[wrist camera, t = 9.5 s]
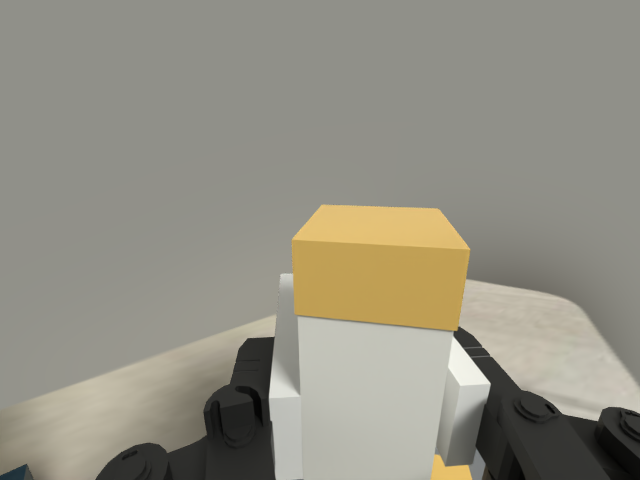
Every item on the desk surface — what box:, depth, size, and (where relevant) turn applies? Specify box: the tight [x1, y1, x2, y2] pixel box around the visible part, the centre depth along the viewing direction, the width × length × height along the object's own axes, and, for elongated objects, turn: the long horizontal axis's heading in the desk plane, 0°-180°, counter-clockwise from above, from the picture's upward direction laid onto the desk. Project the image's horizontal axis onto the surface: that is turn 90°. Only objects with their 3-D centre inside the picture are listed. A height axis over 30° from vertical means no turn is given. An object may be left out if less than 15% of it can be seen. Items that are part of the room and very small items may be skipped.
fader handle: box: [292, 205, 470, 480], centre depth 9 cm, size 4×4×12 cm
